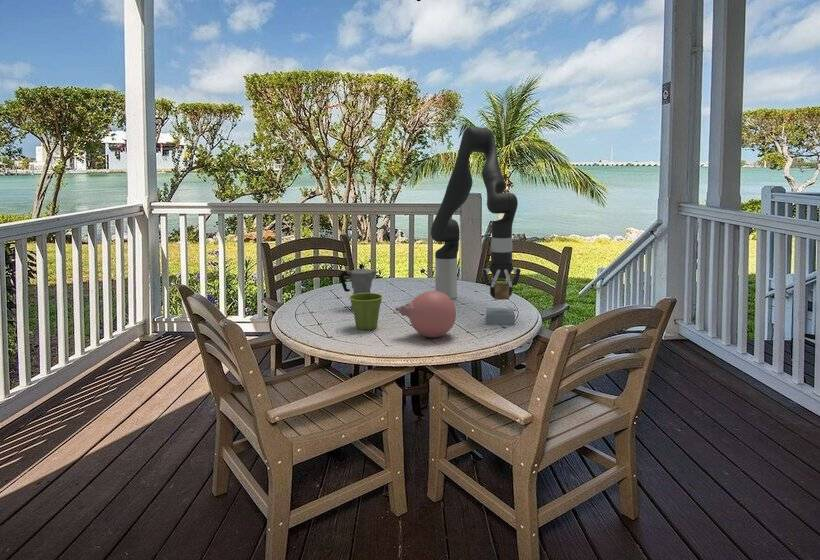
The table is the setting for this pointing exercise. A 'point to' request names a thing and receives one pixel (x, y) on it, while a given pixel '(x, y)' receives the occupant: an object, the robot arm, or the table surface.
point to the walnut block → (501, 291)
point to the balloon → (430, 313)
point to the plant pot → (366, 309)
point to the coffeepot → (358, 280)
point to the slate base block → (500, 316)
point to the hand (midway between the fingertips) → (500, 296)
